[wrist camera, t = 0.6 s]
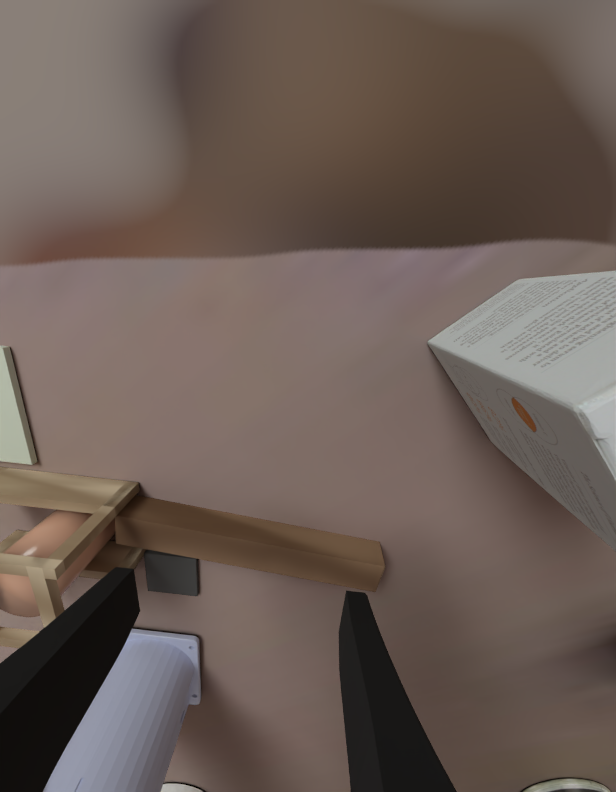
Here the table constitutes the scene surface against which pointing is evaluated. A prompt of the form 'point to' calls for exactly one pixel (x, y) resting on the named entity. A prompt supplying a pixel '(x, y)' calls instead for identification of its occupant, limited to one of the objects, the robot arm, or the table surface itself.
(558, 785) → the coffee can
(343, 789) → the table surface
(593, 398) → the small box
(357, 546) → the rod
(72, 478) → the wooden ladder stand
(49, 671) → the robot arm
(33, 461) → the pad
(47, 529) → the cylinder
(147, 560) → the mat
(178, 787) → the cup
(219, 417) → the table surface
